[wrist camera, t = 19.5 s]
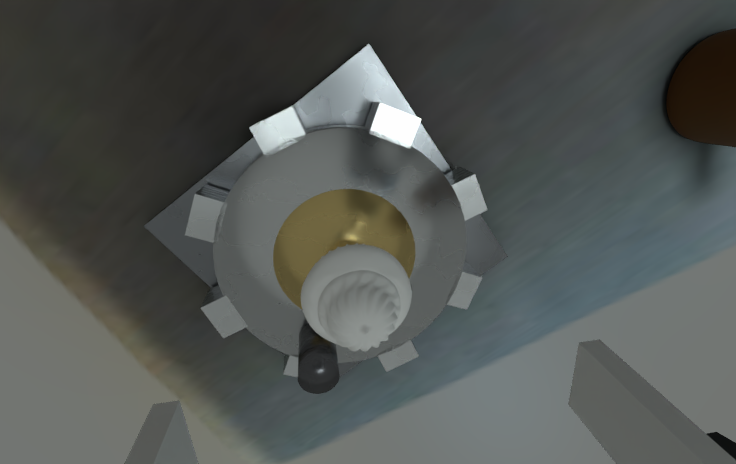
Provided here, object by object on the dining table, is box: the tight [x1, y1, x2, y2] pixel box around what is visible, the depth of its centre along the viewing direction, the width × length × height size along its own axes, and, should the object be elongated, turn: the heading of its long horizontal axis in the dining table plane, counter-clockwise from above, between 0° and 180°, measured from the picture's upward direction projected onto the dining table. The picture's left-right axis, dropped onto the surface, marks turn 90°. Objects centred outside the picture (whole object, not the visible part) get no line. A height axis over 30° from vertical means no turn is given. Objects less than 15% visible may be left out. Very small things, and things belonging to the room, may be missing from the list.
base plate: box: [144, 44, 508, 378], centre depth 27 cm, size 18×18×1 cm
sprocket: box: [185, 101, 487, 394], centre depth 24 cm, size 19×19×6 cm
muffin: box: [301, 243, 412, 351], centre depth 22 cm, size 6×6×7 cm
